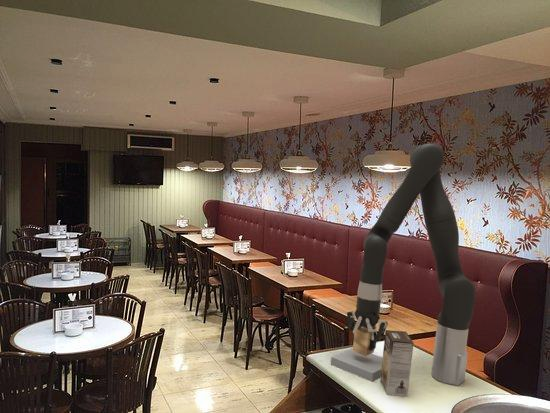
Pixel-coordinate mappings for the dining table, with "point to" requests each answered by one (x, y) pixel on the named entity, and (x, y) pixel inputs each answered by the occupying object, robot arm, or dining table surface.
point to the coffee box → (396, 362)
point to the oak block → (362, 341)
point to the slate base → (359, 364)
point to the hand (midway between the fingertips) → (363, 347)
